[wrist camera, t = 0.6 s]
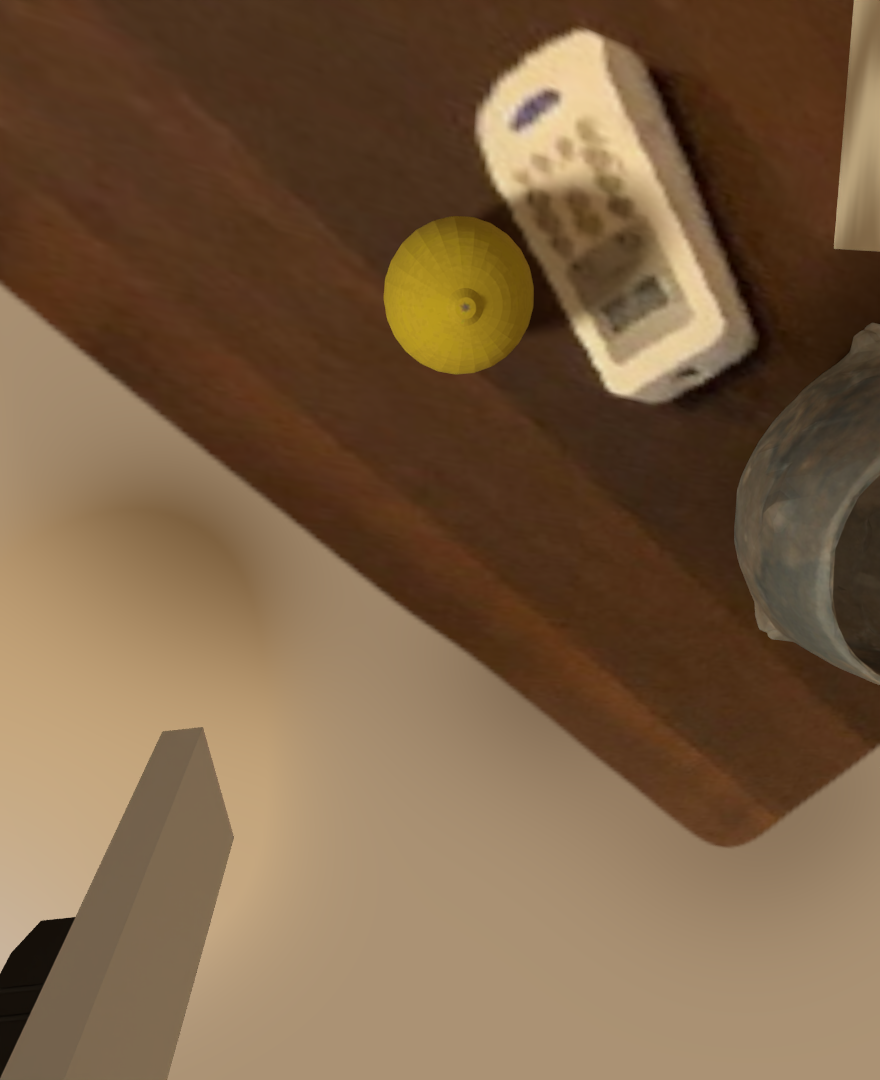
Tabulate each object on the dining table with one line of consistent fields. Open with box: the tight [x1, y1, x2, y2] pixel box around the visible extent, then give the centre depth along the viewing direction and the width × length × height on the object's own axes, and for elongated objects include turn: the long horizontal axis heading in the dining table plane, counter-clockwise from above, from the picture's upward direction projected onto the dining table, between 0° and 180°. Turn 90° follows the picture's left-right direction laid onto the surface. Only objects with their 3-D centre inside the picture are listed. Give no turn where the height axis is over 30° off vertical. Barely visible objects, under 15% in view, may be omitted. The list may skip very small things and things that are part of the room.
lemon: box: [384, 216, 534, 374], centre depth 28 cm, size 6×6×8 cm
